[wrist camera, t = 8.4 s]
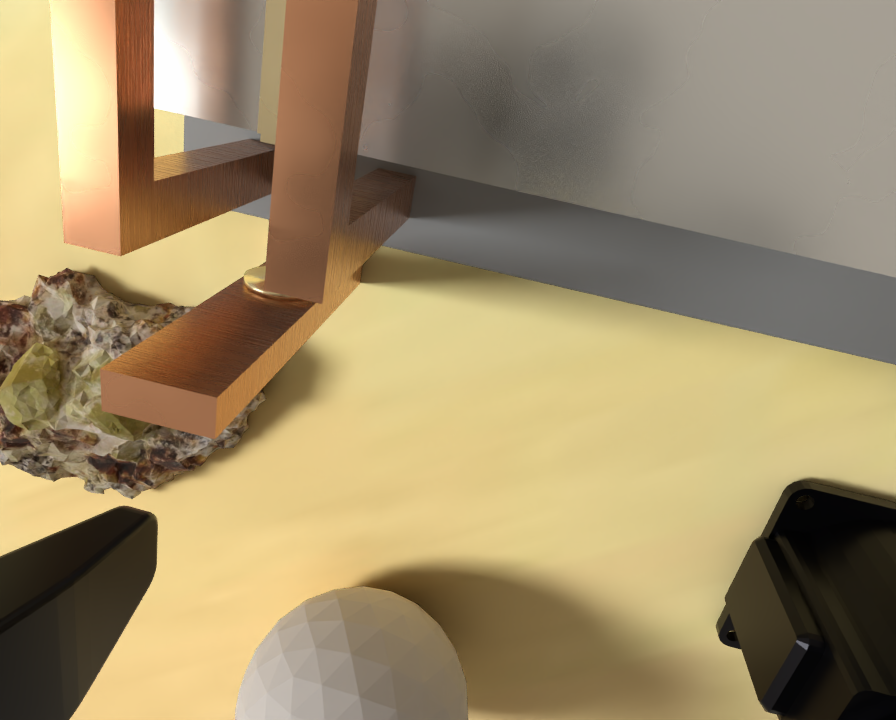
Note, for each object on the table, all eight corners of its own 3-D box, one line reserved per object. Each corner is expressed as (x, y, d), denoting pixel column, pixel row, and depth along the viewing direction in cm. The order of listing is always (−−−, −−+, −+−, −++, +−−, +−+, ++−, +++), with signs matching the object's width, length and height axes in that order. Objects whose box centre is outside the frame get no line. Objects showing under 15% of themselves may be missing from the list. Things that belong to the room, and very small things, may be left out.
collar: (483, -221, 13) (419, -511, 7) (409, 218, 17) (322, 304, 11) (436, -230, 13) (326, -526, 7) (373, 209, 17) (264, 290, 11)
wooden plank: (364, 248, 18) (217, 383, 10) (359, 283, 19) (214, 439, 11) (297, 233, 19) (99, 353, 10) (294, 268, 19) (101, 410, 11)
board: (1293, -109, 13) (1338, -120, 12) (992, 378, 17) (1011, 391, 17) (212, -312, 14) (193, -334, 13) (197, 194, 19) (182, 199, 18)
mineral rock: (6, 541, 22) (-176, 364, 18) (70, 449, 26) (-67, 279, 21) (296, 515, 21) (182, 309, 16) (324, 419, 24) (237, 225, 19)
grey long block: (929, -13, 14) (1136, -63, 9) (819, 232, 16) (937, 299, 11) (248, -153, 14) (97, -270, 10) (235, 100, 17) (107, 109, 12)
